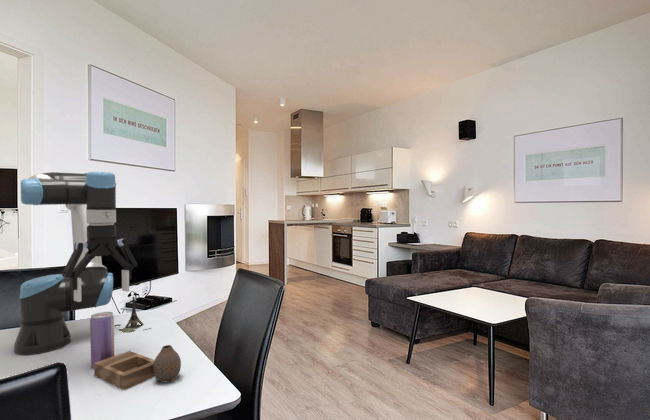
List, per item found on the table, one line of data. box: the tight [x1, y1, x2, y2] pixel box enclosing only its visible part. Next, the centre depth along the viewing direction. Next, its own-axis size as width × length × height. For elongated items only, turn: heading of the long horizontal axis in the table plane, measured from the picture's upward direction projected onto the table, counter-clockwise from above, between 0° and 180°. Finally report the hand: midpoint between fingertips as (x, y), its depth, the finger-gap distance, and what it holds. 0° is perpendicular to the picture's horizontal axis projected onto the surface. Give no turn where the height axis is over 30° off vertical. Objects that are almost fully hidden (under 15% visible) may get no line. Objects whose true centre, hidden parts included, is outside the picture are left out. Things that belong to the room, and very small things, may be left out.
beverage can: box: [89, 311, 115, 369], centre depth 108 cm, size 6×6×15 cm
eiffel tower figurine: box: [114, 294, 152, 334], centre depth 142 cm, size 15×10×13 cm
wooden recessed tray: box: [93, 350, 156, 390], centre depth 101 cm, size 15×10×4 cm, turn 58°
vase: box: [153, 344, 182, 383], centre depth 99 cm, size 7×7×9 cm
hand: (102, 295), depth 108 cm, fingers open, 13 cm apart
